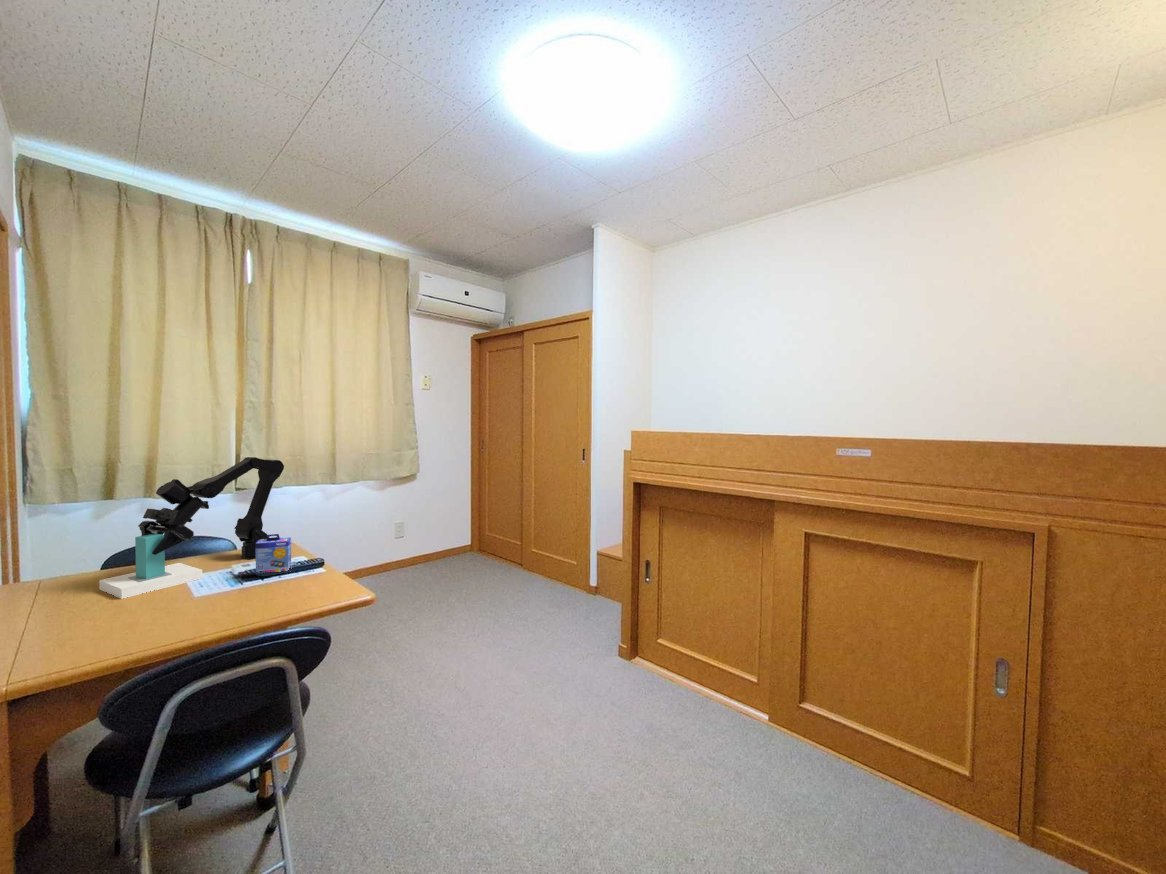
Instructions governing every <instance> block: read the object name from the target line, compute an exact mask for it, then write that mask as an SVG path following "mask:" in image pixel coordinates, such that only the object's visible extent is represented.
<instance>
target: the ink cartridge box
mask: <svg viewBox="0 0 1166 874" xmlns="http://www.w3.org/2000/svg"><path fill="white" fill-rule="evenodd" d="M290 565H291V566H292V537H291V536H287V537H280V534H279V533H273V534H268V535H267V539H261V540H258V541H257V542H256V558H255V573H256V572H258V571H264V572H265V571H266V572H281V571H288V570H289V568H290Z"/></svg>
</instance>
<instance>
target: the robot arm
mask: <svg viewBox="0 0 1166 874" xmlns="http://www.w3.org/2000/svg"><path fill="white" fill-rule="evenodd" d="M284 468H285V465H284V464H283V461H281V460H279V459H264V458H259V457H256V456H254V457H253V456H247V457H244V458H243V459H242V460H241V461H239V462H237V463H236V464H234V465H232V466H231V467H229V468H227V469H225V470H223V471H222V472H220V473H219V474H217V475H215V476H212V477H207V478H205V479H202V480H199V481H197V482H195V483H193V484H192V485H190V486H186V485H185V484H184V483H182V481H180V480H179V479H175V478H173V479H172V480H171V481H169V482H167V483H164V484H162V485H160V487H158V488H157V490H156V492H155V494H156V495H157V496H159V497H160V498H162V499H163V501H166V502H167V503H169V504H170V505H175V507H174V508H173V509H171V508H167V507H162V508H160V509H155V508H147V509H146V511H145V512H144V514H143V517H142V518H143V519H149V520H143V521H142V522H140V523H139V524H138V526H137V527H139V530H140V533H141V535H140V536H144V535H149V534H162V535H164V538H163V539H162V541H161V542H160V543H159V544H158V546H157V547H156V548H155V549H154V551H153V552H152V554H154V555H156V554H158V553H160V552H162V551H164V550H165V551H166V550H168V549H171V548H172V547H174V546H176V545H179V544H181V543H184V542H186V541H190V540H191V539H192V538H193V537H194V535H195V533H194V531H193V530H192V529H190V528H188V527H187V526H186V524H187V523H192V522H193V517H194V516H195V514H196V513H198V511H199V510H201V509H207V510H208V509H210V505H209V501H207V500H202V498H203V499H214V498H216V497H217V496H218V495H219V494H220V493H221V492H223V491H224V489H225V488H226V486H227V485H228V484H230V483H233V482H234V481H235V480H237V479H238V478H240V477H242V476H243V475H245V474H247V473H248V472H250V471H252V470H253V469H254V470H255V469H256V470H257V474H258V479H259V480H258V482H257V485H256V488H255V491H254V494H253V497H252V499H251V501H250V504H249V508H248V511H247V513H246V515H245V516H244V517H243V518H239V517H238V519H237V521H236V525H235V527H234V534H235V536H236V537H237V538H238V539H239V542H242V546H241V556H240V558H242V559H247V560H253V559H256V542H257V541H258V540H261V539H267V535H269V534H268V533H267V532H265V531H263V527H264V526H263V525H264V523H263V519H262V516H263V514H264V511H265V508H266V505H267V501H268V499H269V496H270V493H271V491H272V488H273V485H274V483H275V482H276V480H278V479H279V478H280V476H281V474H282V473H283V471H284V470H285V469H284ZM134 552H135V553H136V549H135V548H134Z"/></svg>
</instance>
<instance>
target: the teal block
mask: <svg viewBox="0 0 1166 874" xmlns="http://www.w3.org/2000/svg"><path fill="white" fill-rule="evenodd" d="M163 538H164V534H163V535H162V534H149V535H144V536H141V535H139V536H135V545H134V547H135V548H134V550H135V549H136V552H135V572H136V577H138V578H143V579H148V578H152V577H156V576H160V575H163V574H165V566H166V560H165V559H166V555H165V554H166V550H164V551H162V552H160V553H158V554H156V555H154V554H152V552H153V551H154V549H155V548H156V547H157V546H158V544H159V543H160V542H161V541H162V539H163Z"/></svg>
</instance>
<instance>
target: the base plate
mask: <svg viewBox="0 0 1166 874" xmlns="http://www.w3.org/2000/svg"><path fill="white" fill-rule="evenodd" d="M198 579H199V580H201V579H203V569H201V568H197V567H194V566H190V565H187V564H185V563H181V562H177V563H172V564H168V565H165V574H163V575H160V576H156V577H152V578H148V579H143V578H138V577H136V571H135V572H132V573H127V574H122V575H117V576H112V577H109V578H108V577H107V578H104V579H100V580H98V581H99V590H100V591H102V592H104V593H106V592H107V593H106V594H109V595H111V594H112V595H111V596H113V595H114V597H116V598H118V599H120V600H123V598H124V599H127V597H128V598H131V597H135V596H138V595H142V593H143V594H147V593H151V592H155V591H158V590H163V589H166V588H170V587H173V586H174V587H175V586H179V585H182V584H186V583H190V582H194V580H195V581H197V580H198ZM154 590H155V591H154ZM150 591H151V592H150ZM146 592H147V593H146Z"/></svg>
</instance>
